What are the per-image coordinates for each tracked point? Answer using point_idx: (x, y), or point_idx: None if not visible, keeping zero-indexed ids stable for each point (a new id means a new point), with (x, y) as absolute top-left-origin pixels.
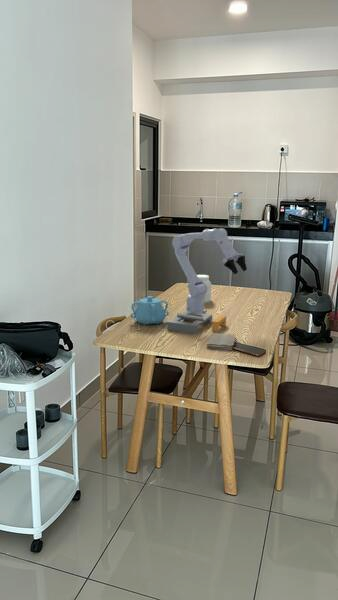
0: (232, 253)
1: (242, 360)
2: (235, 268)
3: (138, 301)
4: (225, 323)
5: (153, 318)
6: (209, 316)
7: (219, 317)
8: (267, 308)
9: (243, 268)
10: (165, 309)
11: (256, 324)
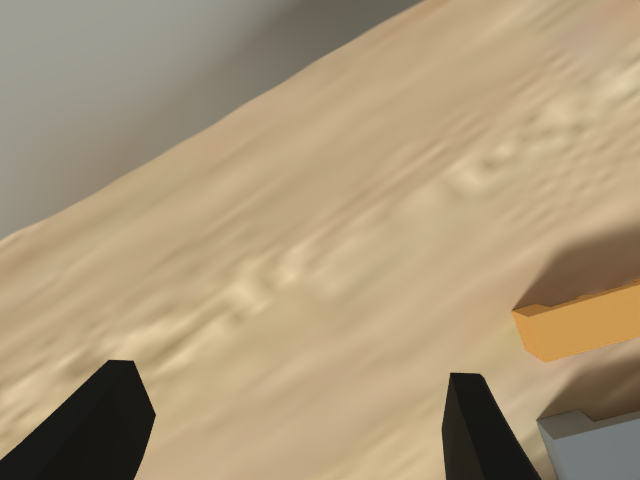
0: None
1: None
2: (521, 461)
3: None
4: (524, 309)
5: None
6: (610, 427)
7: (607, 329)
8: (14, 336)
9: (122, 447)
10: None
11: (347, 181)
